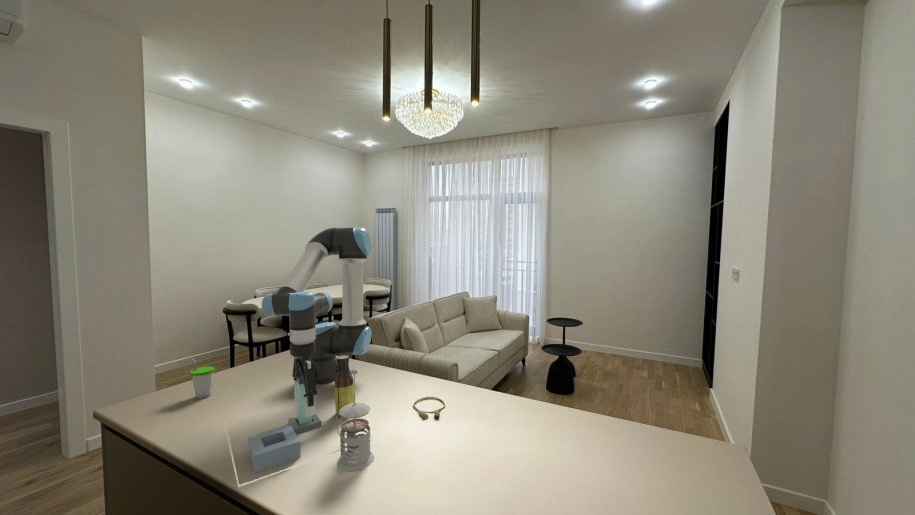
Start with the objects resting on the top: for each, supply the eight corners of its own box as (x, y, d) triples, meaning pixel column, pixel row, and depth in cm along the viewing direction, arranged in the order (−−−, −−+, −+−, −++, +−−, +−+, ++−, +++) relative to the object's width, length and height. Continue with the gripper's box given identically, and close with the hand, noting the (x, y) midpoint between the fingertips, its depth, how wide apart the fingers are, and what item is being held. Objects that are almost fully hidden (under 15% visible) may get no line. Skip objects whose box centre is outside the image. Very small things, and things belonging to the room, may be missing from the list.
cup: (219, 394, 139) (218, 356, 138) (196, 402, 132) (194, 362, 131) (210, 390, 143) (208, 353, 142) (187, 397, 136) (185, 358, 136)
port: (291, 441, 107) (290, 423, 106) (300, 459, 98) (300, 439, 97) (248, 454, 100) (247, 435, 100) (254, 475, 91) (253, 454, 91)
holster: (314, 417, 121) (314, 411, 120) (321, 427, 114) (321, 421, 114) (288, 425, 116) (288, 419, 116) (294, 435, 109) (294, 429, 109)
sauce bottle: (358, 412, 124) (357, 355, 123) (346, 420, 119) (345, 361, 118) (344, 408, 127) (343, 353, 126) (331, 416, 121) (329, 358, 120)
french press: (354, 476, 91) (352, 378, 89) (324, 461, 97) (322, 369, 96) (381, 456, 99) (380, 366, 98) (352, 443, 105) (351, 359, 104)
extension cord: (403, 418, 121) (403, 412, 121) (420, 398, 137) (420, 393, 136) (437, 422, 118) (437, 416, 118) (451, 401, 133) (451, 396, 133)
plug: (309, 420, 117) (308, 374, 117) (312, 425, 115) (311, 377, 114) (297, 424, 115) (296, 376, 115) (300, 428, 113) (299, 380, 112)
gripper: (281, 335, 121) (283, 397, 122) (300, 353, 102) (301, 427, 103) (305, 331, 126) (306, 391, 127) (327, 348, 106) (328, 419, 107)
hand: (304, 407), depth 115 cm, fingers open, 12 cm apart
